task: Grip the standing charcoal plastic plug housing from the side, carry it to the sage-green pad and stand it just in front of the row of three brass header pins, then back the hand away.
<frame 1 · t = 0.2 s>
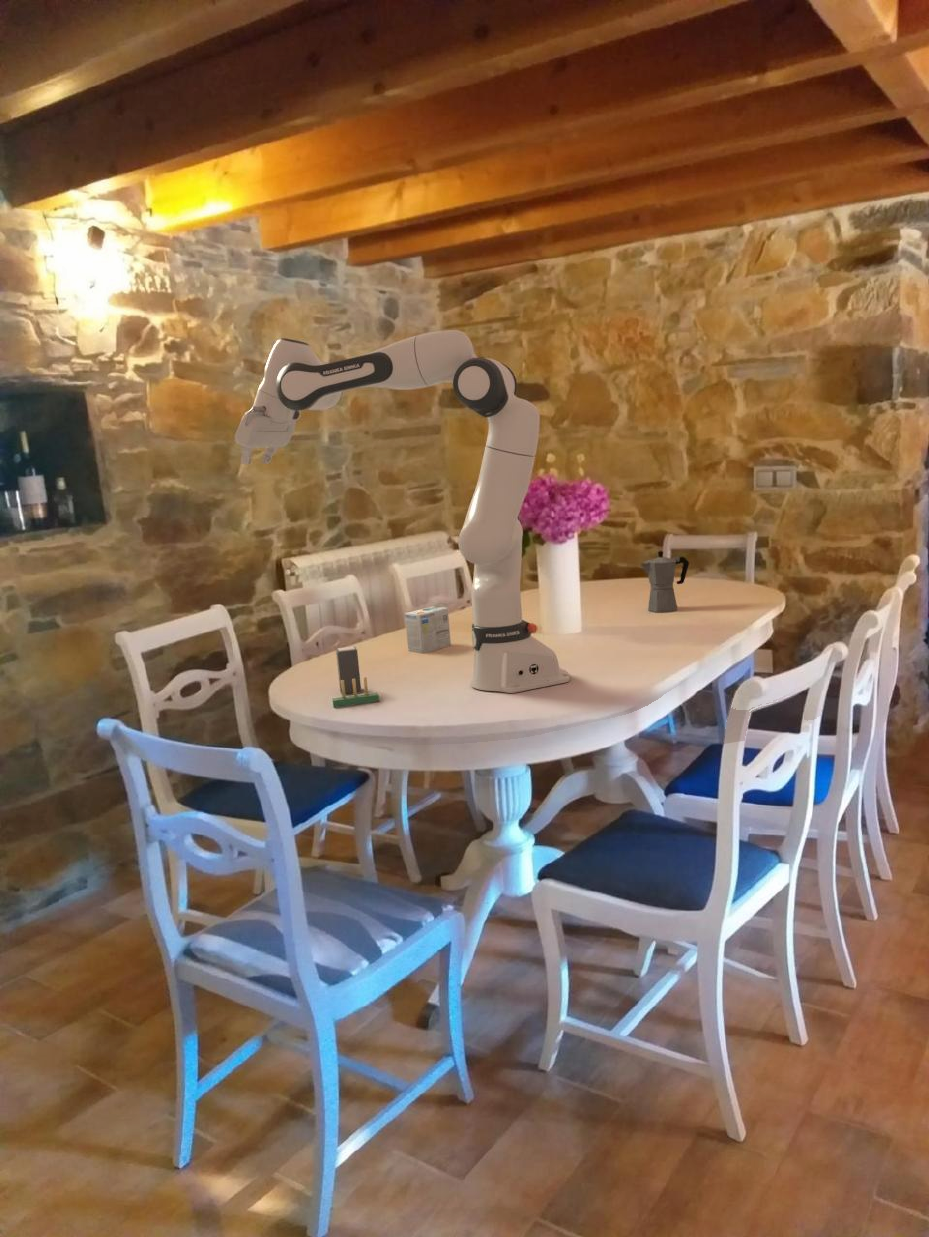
hand: (254, 463, 219), 53 cm above the table, fingers open, 8 cm apart
plug housing: (350, 691, 217), on the table
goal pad: (354, 699, 210), on the table
light bulb box: (429, 649, 256), on the table
coffeepot: (666, 610, 284), on the table
header strip: (356, 703, 206), on the table
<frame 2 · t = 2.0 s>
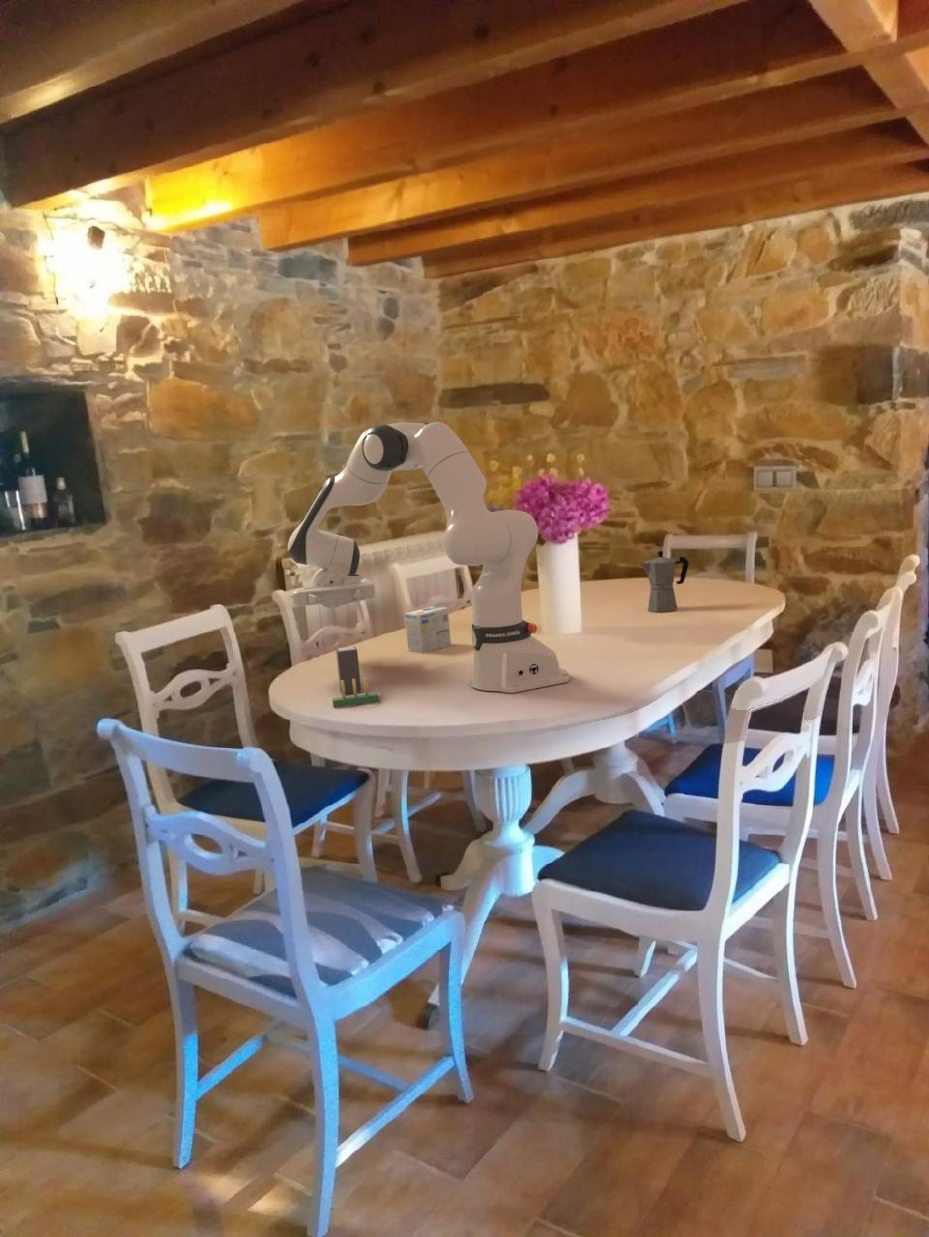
hand: (336, 598, 224), 20 cm above the table, fingers open, 8 cm apart
nothing on the table moved.
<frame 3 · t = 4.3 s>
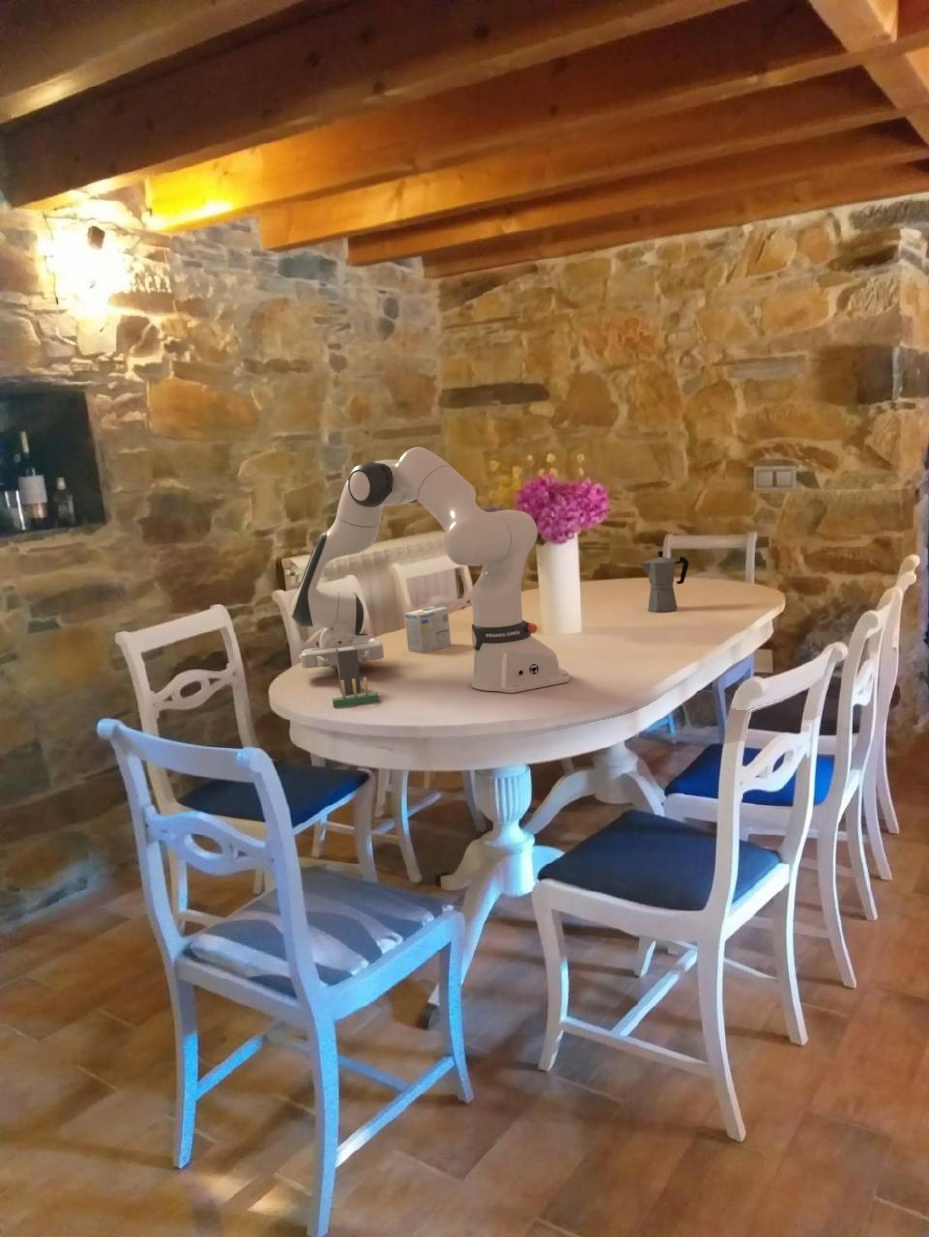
hand: (345, 660, 224), 5 cm above the table, fingers open, 8 cm apart
nothing on the table moved.
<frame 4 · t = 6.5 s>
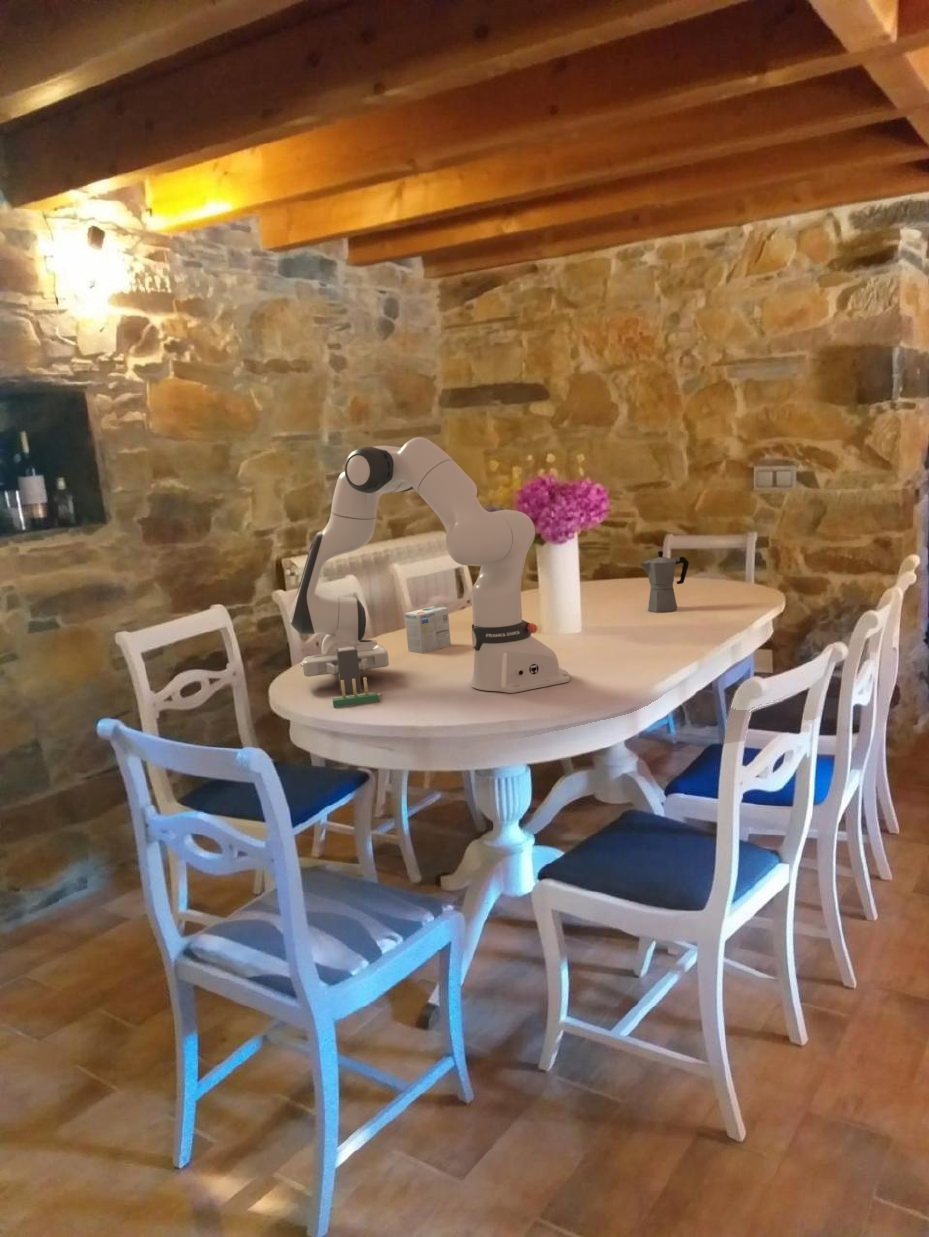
hand: (348, 668, 215), 6 cm above the table, fingers closed on plug housing, 4 cm apart
plug housing: (350, 691, 217), on the table, touching gripper
everything else where it was.
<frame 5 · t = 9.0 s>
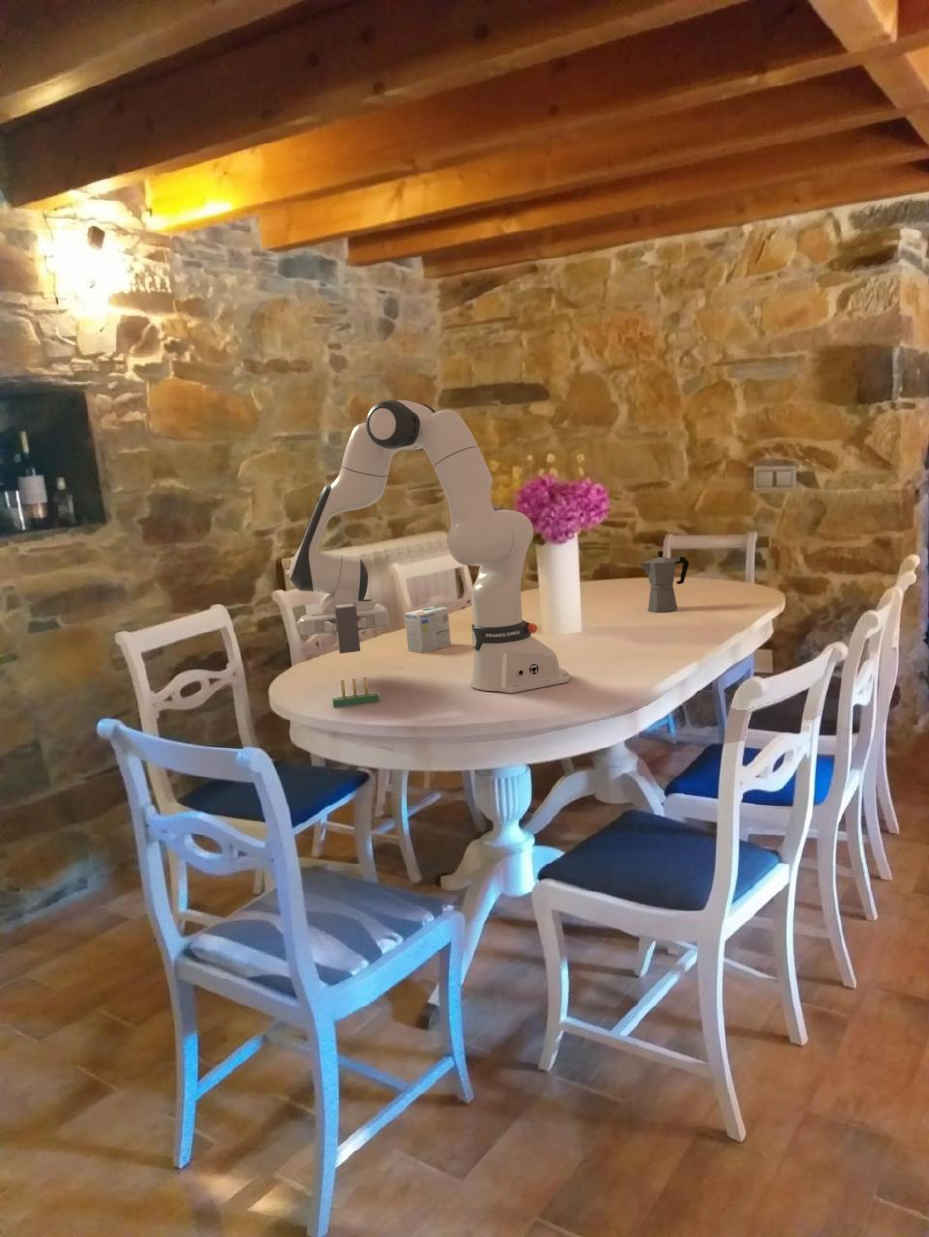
hand: (347, 626, 206), 17 cm above the table, fingers closed on plug housing, 4 cm apart
plug housing: (349, 650, 208), point 11 cm above the table, touching gripper
everything else where it was.
when the fingers open (7 cm above the table, at t = 11.5 s): plug housing stays where it is, resting on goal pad.
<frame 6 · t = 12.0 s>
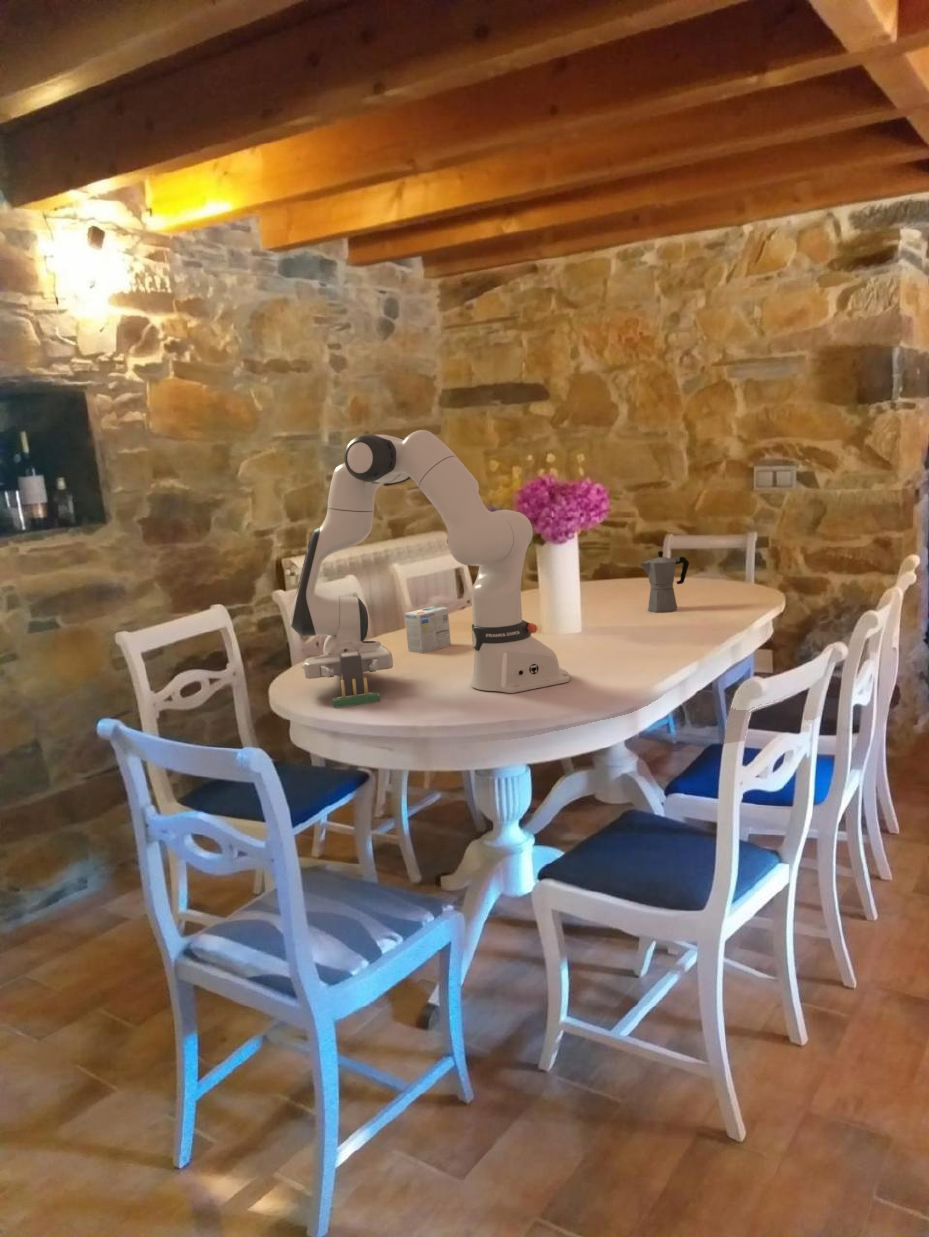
hand: (351, 671, 207), 7 cm above the table, fingers open, 8 cm apart
plug housing: (354, 698, 210), resting on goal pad
everything else where it was.
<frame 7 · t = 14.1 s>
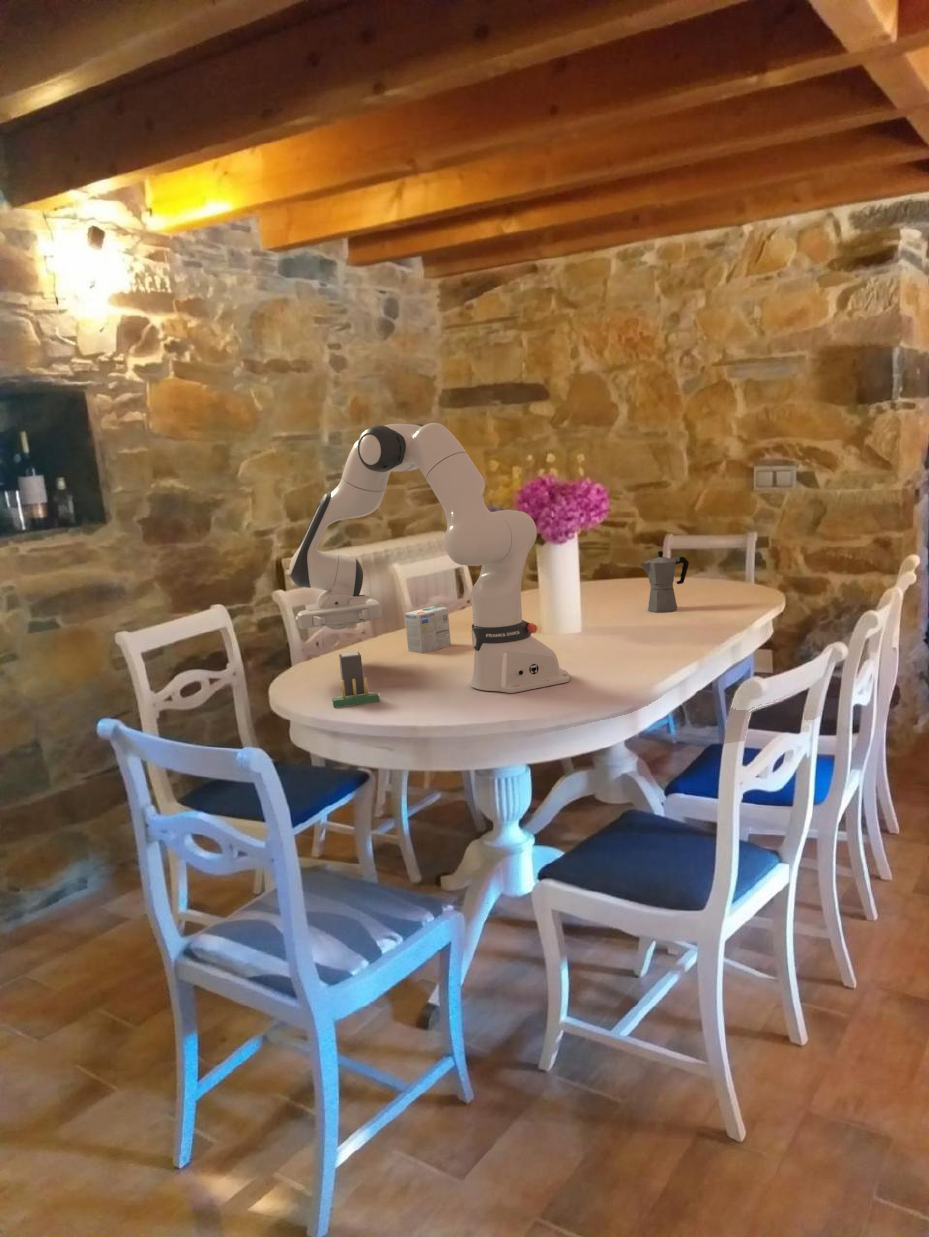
hand: (342, 619, 219), 16 cm above the table, fingers open, 8 cm apart
nothing on the table moved.
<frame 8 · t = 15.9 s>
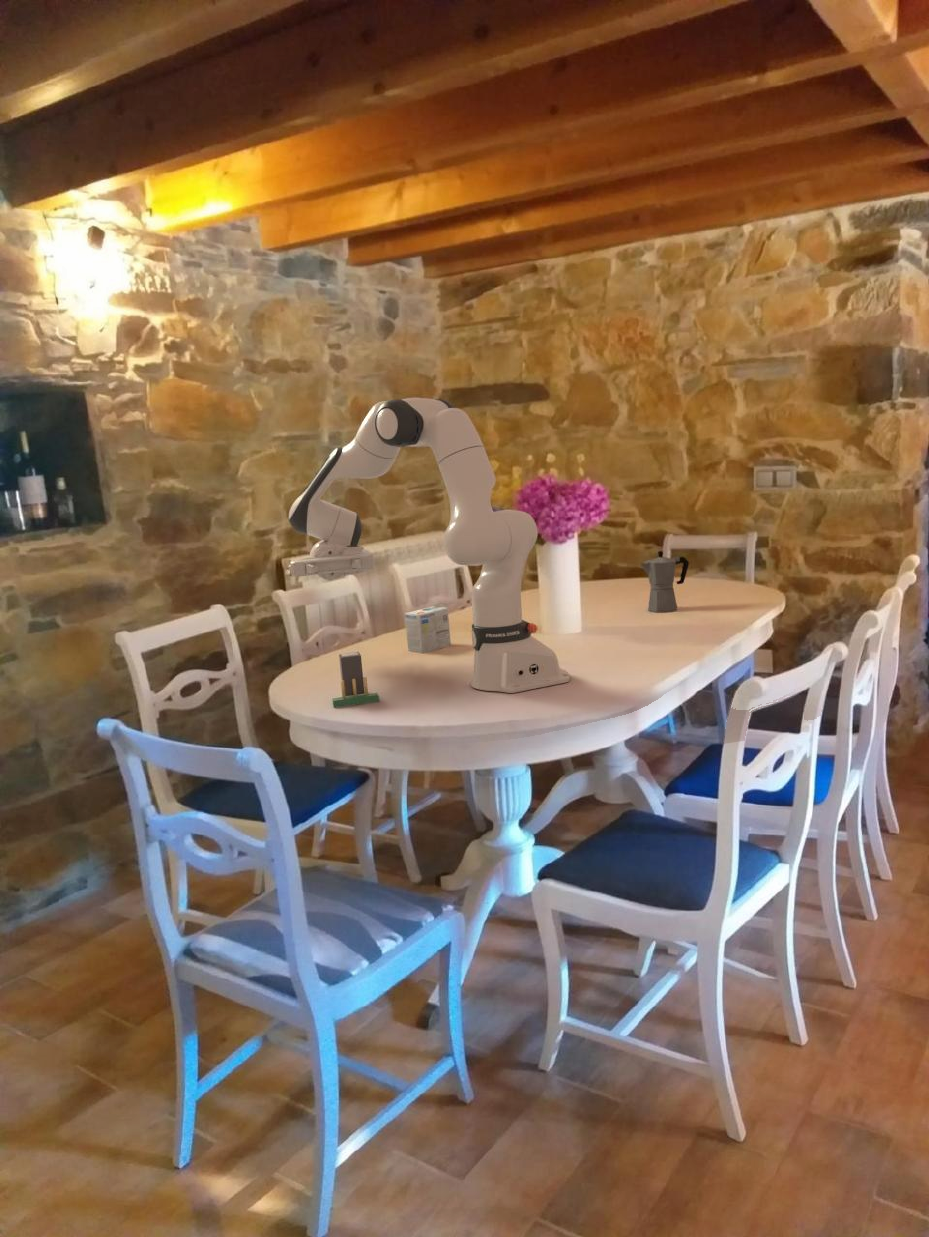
hand: (335, 568, 219), 28 cm above the table, fingers open, 8 cm apart
nothing on the table moved.
at the end: plug housing inside the target area (0.2 cm from its centre), resting on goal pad; plug housing tilted 0°; the gripper is holding nothing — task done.
